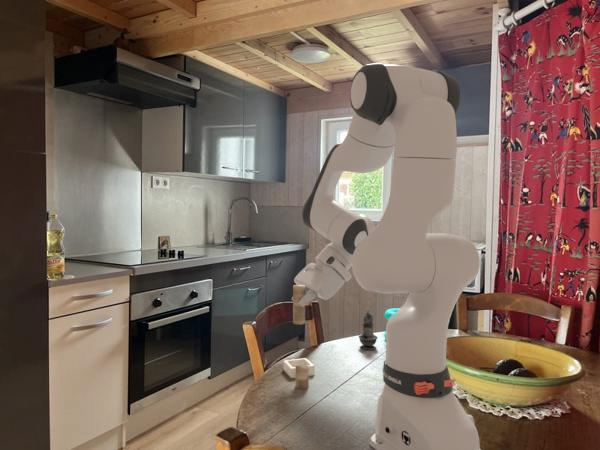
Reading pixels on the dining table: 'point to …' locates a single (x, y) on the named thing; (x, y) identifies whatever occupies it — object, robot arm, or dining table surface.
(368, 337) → the dark grey chess piece
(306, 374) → the short pin
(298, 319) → the long pin
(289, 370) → the socket
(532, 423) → the dining table surface
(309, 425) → the dining table surface
